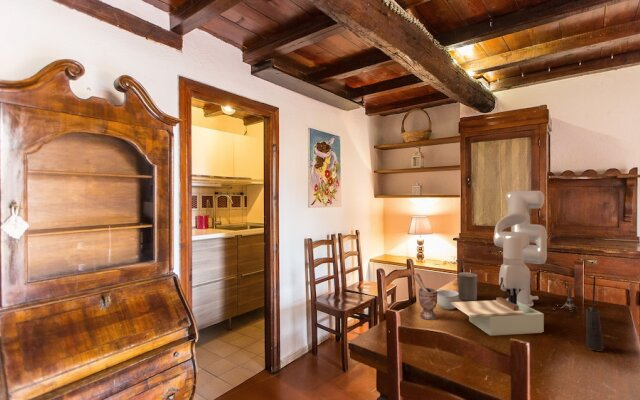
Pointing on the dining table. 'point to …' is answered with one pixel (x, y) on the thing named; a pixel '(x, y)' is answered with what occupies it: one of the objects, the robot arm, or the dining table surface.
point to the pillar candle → (467, 286)
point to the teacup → (447, 298)
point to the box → (511, 322)
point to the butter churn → (593, 327)
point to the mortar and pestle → (426, 299)
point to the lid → (488, 307)
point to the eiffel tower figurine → (569, 301)
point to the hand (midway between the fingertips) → (512, 303)
